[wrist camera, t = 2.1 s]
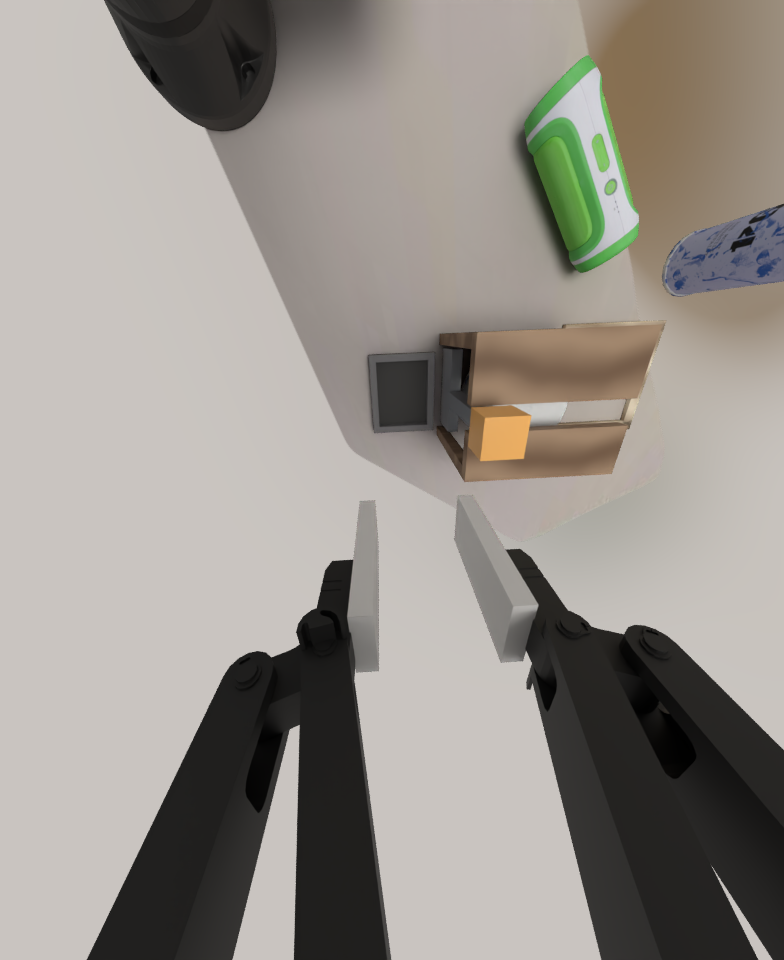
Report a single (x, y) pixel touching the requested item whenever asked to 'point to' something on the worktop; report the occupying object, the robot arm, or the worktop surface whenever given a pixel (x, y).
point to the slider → (481, 417)
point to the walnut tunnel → (552, 393)
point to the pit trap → (402, 391)
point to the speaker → (582, 167)
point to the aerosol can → (728, 255)
